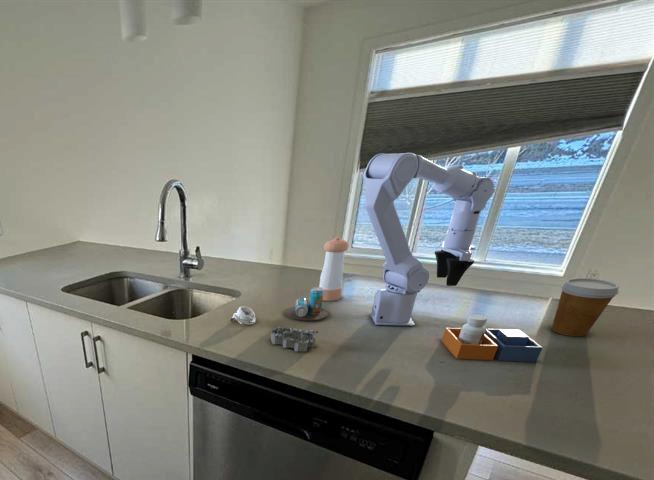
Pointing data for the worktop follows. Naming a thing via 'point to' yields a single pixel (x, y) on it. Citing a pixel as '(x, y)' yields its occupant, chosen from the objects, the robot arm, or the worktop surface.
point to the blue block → (512, 337)
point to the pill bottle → (473, 330)
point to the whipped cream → (244, 315)
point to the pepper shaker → (333, 269)
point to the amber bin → (468, 346)
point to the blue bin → (514, 348)
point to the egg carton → (294, 338)
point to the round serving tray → (309, 307)
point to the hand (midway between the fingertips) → (446, 281)
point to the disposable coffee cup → (582, 305)
